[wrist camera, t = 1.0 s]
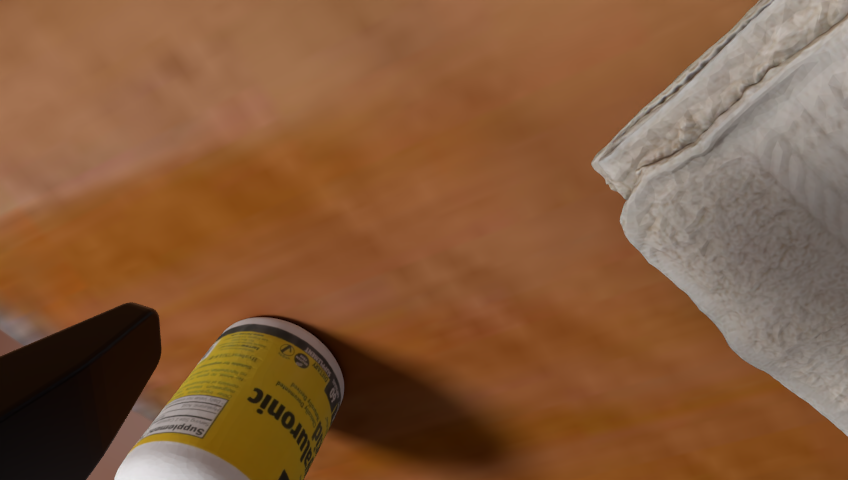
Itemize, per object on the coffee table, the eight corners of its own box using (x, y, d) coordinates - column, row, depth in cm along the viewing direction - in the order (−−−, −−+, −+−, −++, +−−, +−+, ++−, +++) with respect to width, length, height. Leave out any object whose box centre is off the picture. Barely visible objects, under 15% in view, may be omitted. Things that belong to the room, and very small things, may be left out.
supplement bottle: (368, 414, 29) (255, 663, 21) (255, 417, 31) (113, 644, 23) (318, 304, 26) (168, 539, 18) (198, 316, 28) (17, 532, 20)
